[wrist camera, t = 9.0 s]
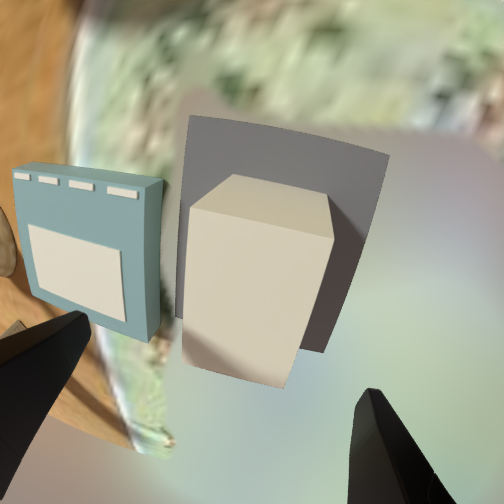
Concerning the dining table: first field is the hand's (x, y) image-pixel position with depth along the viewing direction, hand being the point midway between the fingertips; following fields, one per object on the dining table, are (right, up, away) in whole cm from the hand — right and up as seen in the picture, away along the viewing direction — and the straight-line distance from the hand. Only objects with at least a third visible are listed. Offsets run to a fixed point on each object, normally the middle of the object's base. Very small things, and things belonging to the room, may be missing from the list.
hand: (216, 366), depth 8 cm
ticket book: (-10, +4, +10) cm, 14 cm away
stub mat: (+2, +4, +8) cm, 9 cm away
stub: (+2, +3, +7) cm, 8 cm away
